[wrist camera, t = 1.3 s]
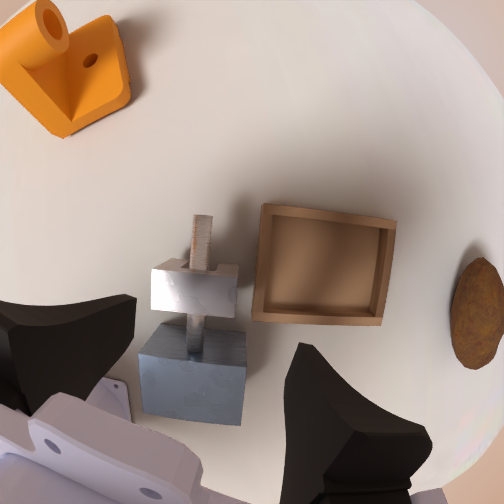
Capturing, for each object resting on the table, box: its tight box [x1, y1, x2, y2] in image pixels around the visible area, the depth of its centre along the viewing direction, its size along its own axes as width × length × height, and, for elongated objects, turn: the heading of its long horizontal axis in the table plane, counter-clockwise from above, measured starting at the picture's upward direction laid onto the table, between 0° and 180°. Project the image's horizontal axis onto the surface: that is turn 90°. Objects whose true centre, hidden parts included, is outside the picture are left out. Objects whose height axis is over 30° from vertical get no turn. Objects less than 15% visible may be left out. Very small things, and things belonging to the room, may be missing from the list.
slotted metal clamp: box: [151, 258, 239, 318], centre depth 19 cm, size 5×2×5 cm, turn 85°
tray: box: [251, 204, 397, 326], centre depth 22 cm, size 10×8×2 cm
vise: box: [138, 215, 247, 426], centre depth 20 cm, size 7×15×6 cm, turn 175°
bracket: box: [0, 0, 131, 139], centre depth 14 cm, size 11×7×12 cm, turn 18°
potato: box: [450, 257, 504, 370], centre depth 20 cm, size 7×12×7 cm, turn 20°
